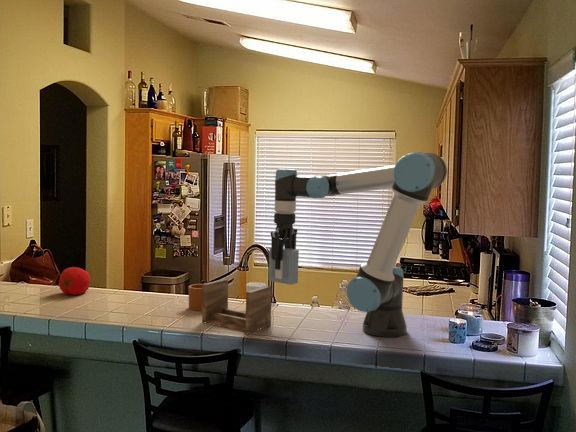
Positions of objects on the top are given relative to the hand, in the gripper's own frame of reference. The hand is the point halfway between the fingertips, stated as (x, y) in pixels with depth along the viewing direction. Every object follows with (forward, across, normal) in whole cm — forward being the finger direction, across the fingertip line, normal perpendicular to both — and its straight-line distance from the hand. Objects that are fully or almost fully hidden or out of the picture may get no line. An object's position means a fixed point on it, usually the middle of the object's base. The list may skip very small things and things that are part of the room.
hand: (282, 277), depth 211 cm
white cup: (+18, -11, -20) cm, 29 cm away
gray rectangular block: (+2, 0, 0) cm, 2 cm away
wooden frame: (+17, +10, -13) cm, 24 cm away
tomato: (+19, +17, -98) cm, 101 cm away
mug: (+18, +1, -37) cm, 41 cm away
